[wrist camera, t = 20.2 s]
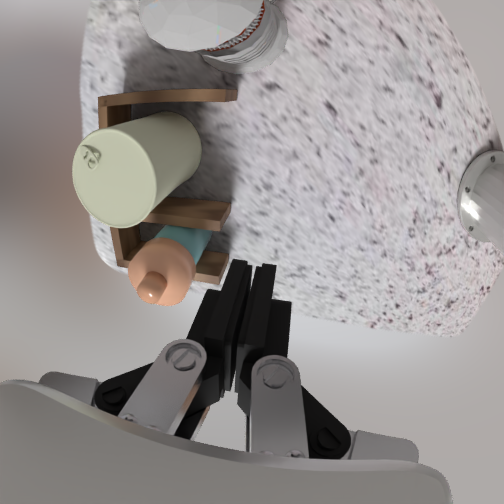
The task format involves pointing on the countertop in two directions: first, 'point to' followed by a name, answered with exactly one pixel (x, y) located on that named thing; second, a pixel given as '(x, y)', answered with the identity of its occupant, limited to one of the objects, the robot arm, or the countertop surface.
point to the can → (134, 166)
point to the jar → (188, 238)
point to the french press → (219, 30)
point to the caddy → (170, 208)
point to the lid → (162, 271)
